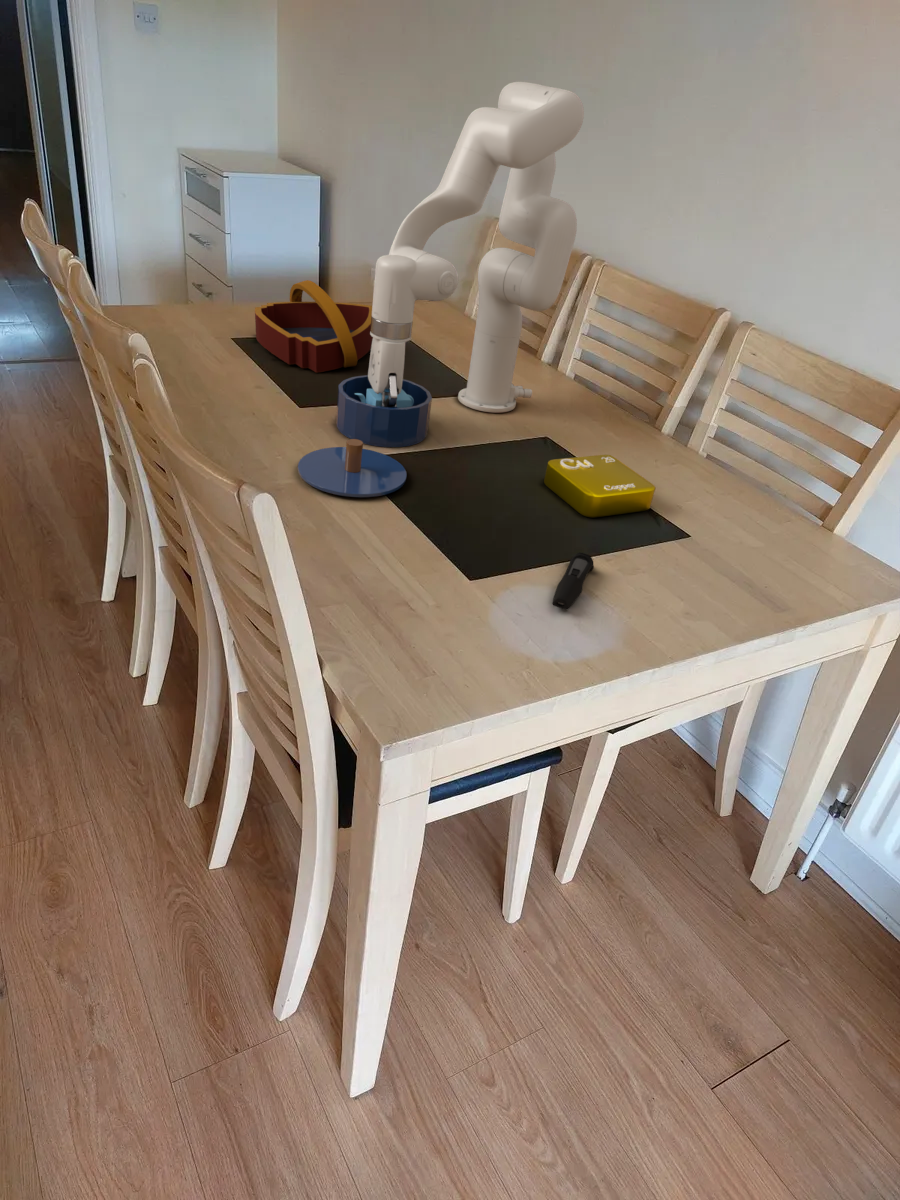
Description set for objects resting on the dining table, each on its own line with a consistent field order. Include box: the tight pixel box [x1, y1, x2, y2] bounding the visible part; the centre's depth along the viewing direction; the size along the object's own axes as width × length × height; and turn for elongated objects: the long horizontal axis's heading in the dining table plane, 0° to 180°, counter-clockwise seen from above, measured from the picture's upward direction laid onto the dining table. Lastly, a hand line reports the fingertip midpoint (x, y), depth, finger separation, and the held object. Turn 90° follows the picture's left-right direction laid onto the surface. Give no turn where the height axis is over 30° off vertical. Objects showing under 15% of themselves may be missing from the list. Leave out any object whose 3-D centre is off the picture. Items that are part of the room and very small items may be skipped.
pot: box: [335, 374, 433, 448], centre depth 167 cm, size 18×18×8 cm
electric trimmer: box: [551, 552, 595, 611], centre depth 127 cm, size 4×16×3 cm, turn 159°
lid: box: [297, 438, 407, 498], centre depth 148 cm, size 19×19×6 cm
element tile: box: [543, 454, 656, 519], centre depth 155 cm, size 15×15×5 cm
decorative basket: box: [254, 279, 373, 374], centre depth 200 cm, size 34×29×15 cm
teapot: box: [354, 389, 414, 408], centre depth 166 cm, size 12×6×8 cm, turn 111°
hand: (382, 420), depth 168 cm, fingers closed on teapot, 6 cm apart
